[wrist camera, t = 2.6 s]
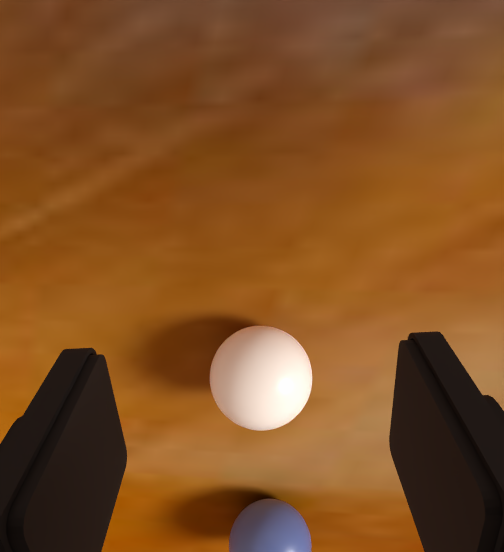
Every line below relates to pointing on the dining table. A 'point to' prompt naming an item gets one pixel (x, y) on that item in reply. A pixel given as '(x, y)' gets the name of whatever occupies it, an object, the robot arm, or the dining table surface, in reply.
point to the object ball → (269, 529)
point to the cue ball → (261, 378)
